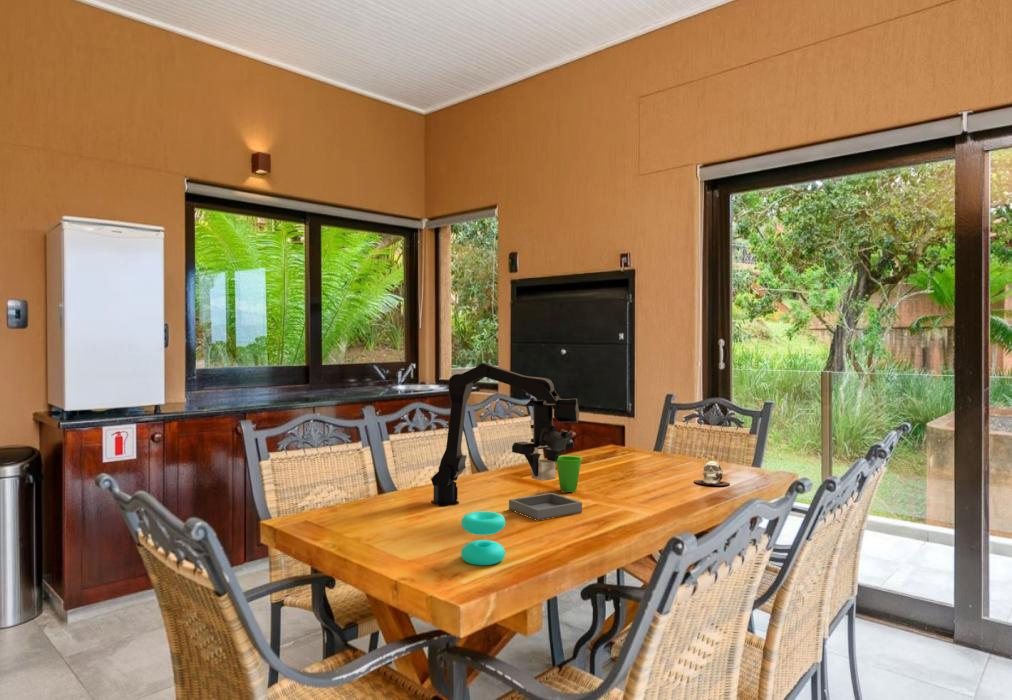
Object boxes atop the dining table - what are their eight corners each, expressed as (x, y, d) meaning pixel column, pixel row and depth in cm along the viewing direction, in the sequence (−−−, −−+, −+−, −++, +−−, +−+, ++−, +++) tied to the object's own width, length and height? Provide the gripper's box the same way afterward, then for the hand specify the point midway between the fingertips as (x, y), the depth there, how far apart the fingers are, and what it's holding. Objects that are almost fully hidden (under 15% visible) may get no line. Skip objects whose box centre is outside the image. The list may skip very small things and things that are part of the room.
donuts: (511, 512, 148) (495, 523, 139) (511, 555, 149) (495, 569, 139) (472, 508, 152) (453, 518, 143) (471, 550, 152) (453, 563, 143)
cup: (587, 491, 213) (587, 457, 213) (570, 495, 206) (571, 461, 206) (565, 486, 219) (566, 454, 219) (549, 491, 212) (549, 457, 212)
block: (541, 481, 184) (541, 463, 184) (531, 478, 188) (531, 461, 188) (555, 478, 187) (555, 461, 187) (545, 476, 191) (544, 459, 191)
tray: (537, 521, 177) (537, 510, 177) (508, 509, 188) (509, 499, 188) (581, 512, 186) (582, 502, 186) (551, 502, 197) (551, 492, 197)
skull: (729, 486, 217) (708, 461, 220) (706, 503, 221) (686, 479, 224) (736, 478, 228) (715, 455, 231) (713, 495, 232) (694, 472, 235)
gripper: (534, 427, 175) (534, 484, 176) (585, 421, 186) (586, 475, 186) (510, 423, 185) (511, 477, 185) (561, 418, 195) (561, 469, 195)
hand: (543, 475), depth 188 cm, fingers closed on block, 5 cm apart
